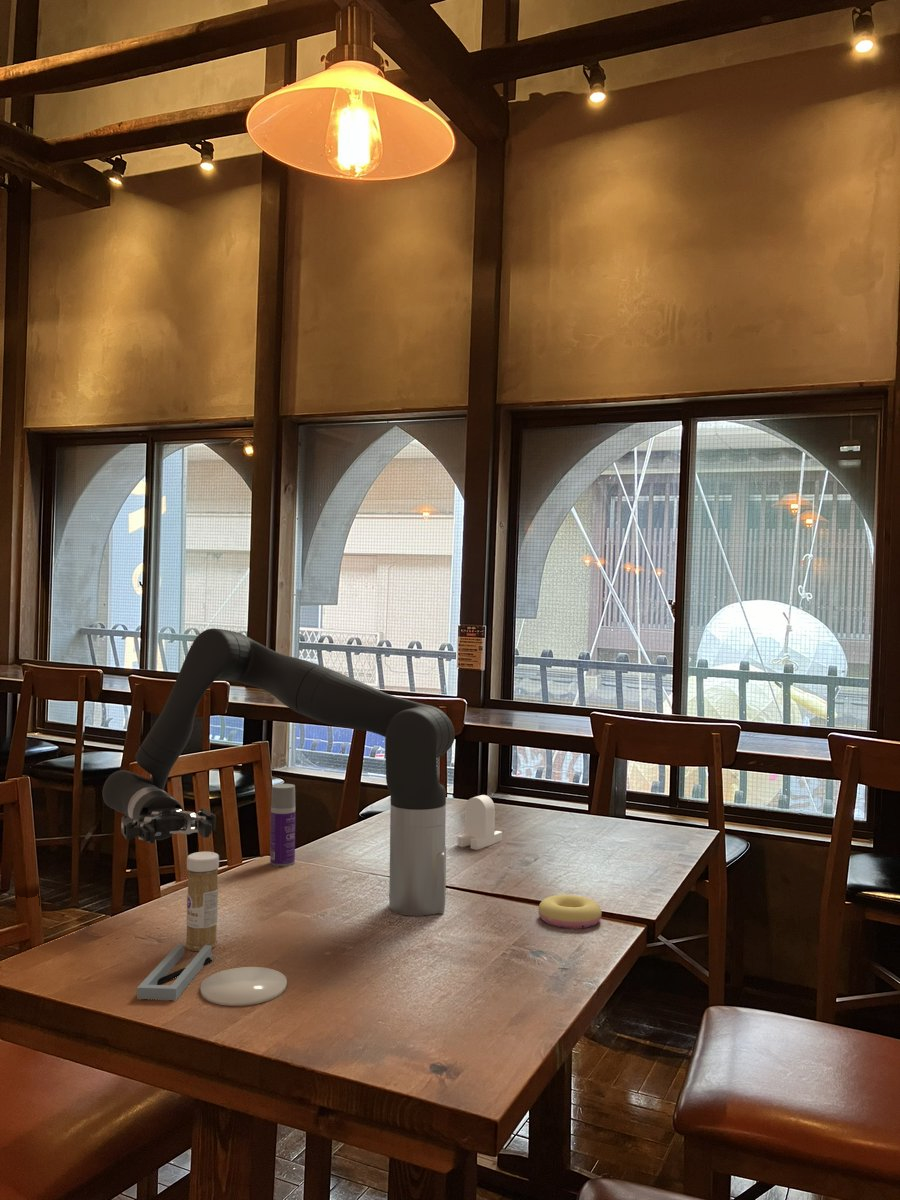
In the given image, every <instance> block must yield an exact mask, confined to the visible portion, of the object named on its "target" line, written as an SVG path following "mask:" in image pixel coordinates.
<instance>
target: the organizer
mask: <svg viewBox="0 0 900 1200" xmlns="http://www.w3.org/2000/svg"><path fill="white" fill-rule="evenodd" d="M464 805H465V807H464V833H463V834H460V835H457V847H461V848H464V847H467V846H470V849H472V850H480V849H483V848H487V847H489V846H491V845H492V846H493V845H494V844H498V843H500V842H502V841H503V831H501V830H495V828H496V827H495V825H496V824H495V823H496V821H495V820H496V819H495V818H496V815H495V811H496V808H495V803H494V801H493V799H492V798H491V797H489V795H486V794H481V795H476V796H474V797H470V798H469V799H468V800H467V801H466V803H465V804H464Z"/></svg>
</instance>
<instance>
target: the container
mask: <svg viewBox="0 0 900 1200" xmlns="http://www.w3.org/2000/svg"><path fill="white" fill-rule="evenodd" d="M269 842H270V848H269V849H270V851H269V852H270V855H269V856H270V857H269V859H270V860H269V862H270V863H269V864H270V866H272V865H273V867H276V866H285V867H290V866H289V865H291V866H293V865H295V863H296V861H295V859H296V785H295V784H294V783H293V784H292V783H276V784H273V785H271V802H270V841H269ZM292 864H293V865H292Z"/></svg>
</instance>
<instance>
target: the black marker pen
mask: <svg viewBox="0 0 900 1200" xmlns="http://www.w3.org/2000/svg"><path fill="white" fill-rule="evenodd" d="M216 958H217V957H214V955H211V957H208V958H206V959H205V962H204V964H203V967H205V966H206V965H209V964H211V963H212V961H214V960H216ZM210 962H211V963H210ZM208 963H209V964H208ZM204 965H205V966H204ZM185 968H186V967H183V968H181V969H178V970H175V971H172V972H171V973H169V974H167V975H166V976H164V977H162V978H160V979H159V980H158V982H157V985H161V984H162V985H164V984H165V982H166V983H168V982H169V981H172V980H174V979H176V978H175V977H177V976H179V975H180V974H181V973H182V972H183V970H184V969H185ZM173 978H174V979H173ZM177 978H178V977H177ZM171 979H172V980H171ZM167 981H168V982H167ZM163 983H164V984H163Z"/></svg>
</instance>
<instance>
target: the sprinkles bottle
mask: <svg viewBox="0 0 900 1200" xmlns="http://www.w3.org/2000/svg"><path fill="white" fill-rule="evenodd" d="M219 867H220V855H219V854H218V853H216V852H213V851H198V852H197V851H196V852H193V853H190V854H188V856H187V857H186V870H187V895H186V941H185V948H186V949H187V950H189V951H192V952H199V951H200V950H201V949H202V948H203V947H204V945H212V949H214V948H216V947H217V946H218V940H217V932H218V931H217V930H218V929H217V925H218V905H219V904H218V903H219V902H218V901H219V899H218V898H219V892H218V891H219V889H218V878H219V877H218V873H219V872H218V870H219Z"/></svg>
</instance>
